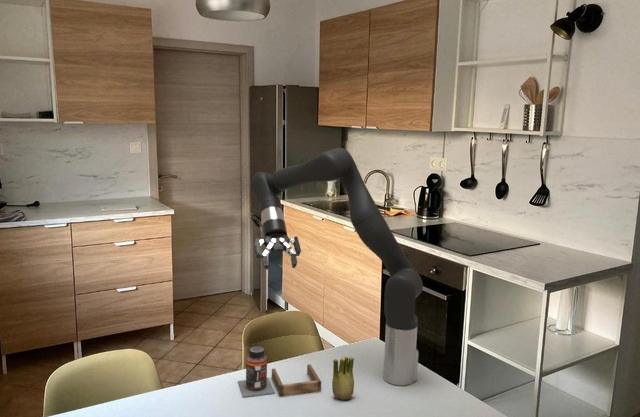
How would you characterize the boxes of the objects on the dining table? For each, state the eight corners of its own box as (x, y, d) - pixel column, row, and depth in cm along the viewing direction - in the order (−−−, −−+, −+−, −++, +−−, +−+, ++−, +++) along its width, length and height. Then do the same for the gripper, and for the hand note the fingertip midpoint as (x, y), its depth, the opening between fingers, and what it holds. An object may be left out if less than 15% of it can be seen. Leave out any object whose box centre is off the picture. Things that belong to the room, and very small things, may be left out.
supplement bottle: (263, 392, 150) (263, 354, 148) (242, 390, 151) (243, 352, 149) (269, 382, 155) (269, 346, 153) (249, 380, 157) (250, 343, 155)
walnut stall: (310, 373, 162) (310, 364, 162) (320, 391, 152) (321, 381, 152) (271, 378, 159) (271, 368, 158) (279, 396, 148) (280, 386, 148)
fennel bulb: (330, 400, 148) (332, 359, 146) (334, 391, 152) (335, 352, 150) (351, 403, 146) (353, 362, 144) (354, 394, 151) (356, 354, 149)
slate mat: (268, 378, 158) (268, 377, 158) (274, 393, 150) (274, 392, 150) (238, 382, 156) (238, 381, 156) (242, 397, 147) (242, 396, 147)
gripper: (253, 218, 169) (260, 262, 160) (296, 216, 173) (305, 260, 165) (250, 231, 175) (256, 274, 166) (292, 229, 179) (300, 272, 171)
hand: (281, 267), depth 165 cm, fingers open, 8 cm apart
